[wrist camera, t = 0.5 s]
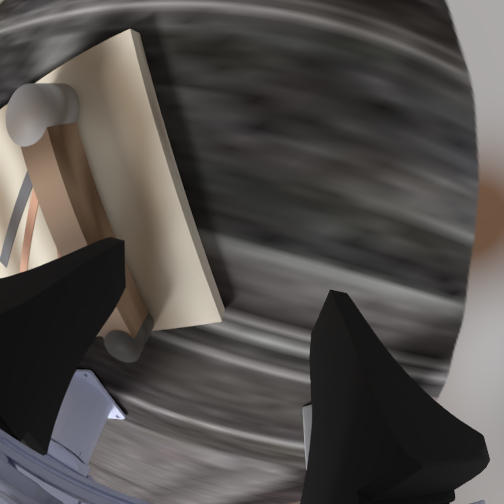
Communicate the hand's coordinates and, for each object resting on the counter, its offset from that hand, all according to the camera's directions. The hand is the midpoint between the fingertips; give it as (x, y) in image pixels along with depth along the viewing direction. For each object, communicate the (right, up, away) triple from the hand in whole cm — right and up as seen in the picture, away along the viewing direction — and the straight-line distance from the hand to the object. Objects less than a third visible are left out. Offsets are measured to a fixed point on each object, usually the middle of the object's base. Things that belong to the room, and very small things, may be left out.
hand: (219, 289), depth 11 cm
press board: (-13, +4, +10) cm, 17 cm away
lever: (-9, +3, +8) cm, 12 cm away
